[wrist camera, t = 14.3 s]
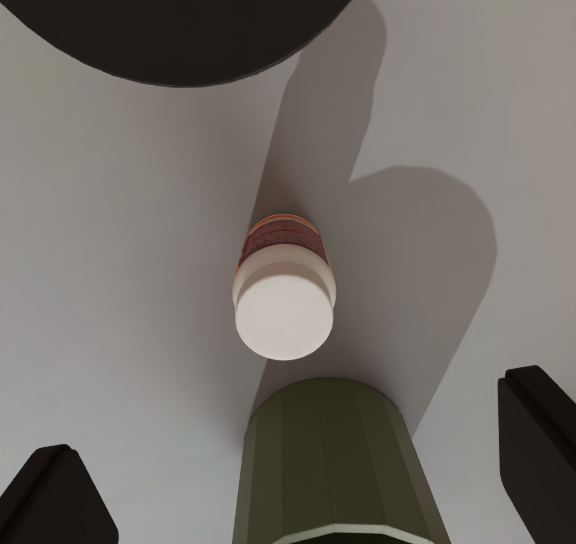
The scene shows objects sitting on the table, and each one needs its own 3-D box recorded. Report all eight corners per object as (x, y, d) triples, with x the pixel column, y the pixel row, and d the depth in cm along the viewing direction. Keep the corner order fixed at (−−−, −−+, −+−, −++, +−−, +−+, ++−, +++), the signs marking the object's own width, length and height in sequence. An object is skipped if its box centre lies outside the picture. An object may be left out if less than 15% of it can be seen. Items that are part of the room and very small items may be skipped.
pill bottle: (229, 231, 24) (203, 292, 16) (305, 198, 23) (316, 245, 15) (264, 299, 25) (255, 384, 18) (336, 270, 25) (359, 345, 17)
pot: (220, 473, 31) (191, 643, 21) (287, 352, 27) (290, 492, 17) (356, 518, 33) (387, 694, 23) (437, 412, 29) (515, 568, 19)
